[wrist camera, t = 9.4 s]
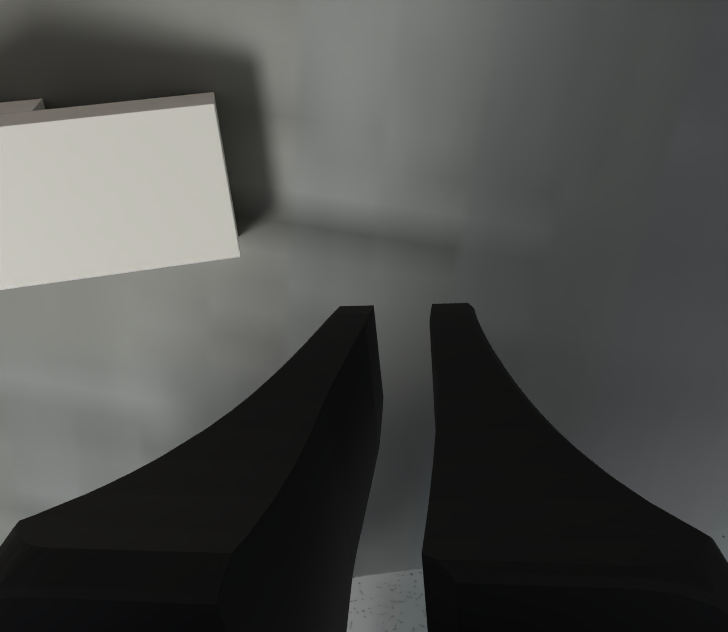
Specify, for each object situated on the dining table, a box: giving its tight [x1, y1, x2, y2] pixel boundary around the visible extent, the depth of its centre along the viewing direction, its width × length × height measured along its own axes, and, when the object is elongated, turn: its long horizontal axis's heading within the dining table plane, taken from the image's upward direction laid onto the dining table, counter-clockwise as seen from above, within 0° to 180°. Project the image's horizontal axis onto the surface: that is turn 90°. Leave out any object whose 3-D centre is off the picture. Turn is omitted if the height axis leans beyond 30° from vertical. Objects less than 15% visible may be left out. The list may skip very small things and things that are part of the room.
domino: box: [0, 92, 240, 290], centre depth 20 cm, size 2×5×9 cm
